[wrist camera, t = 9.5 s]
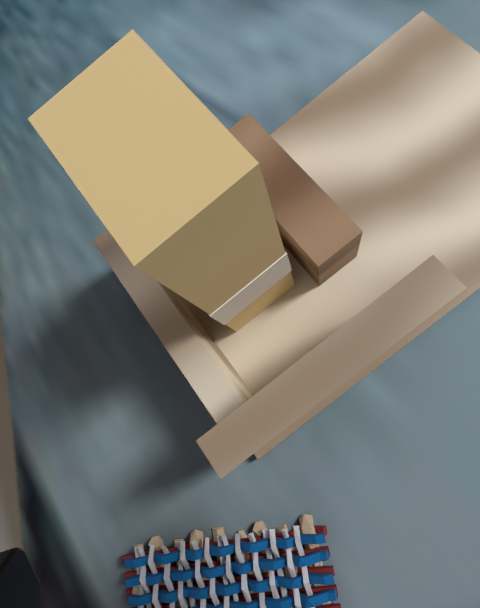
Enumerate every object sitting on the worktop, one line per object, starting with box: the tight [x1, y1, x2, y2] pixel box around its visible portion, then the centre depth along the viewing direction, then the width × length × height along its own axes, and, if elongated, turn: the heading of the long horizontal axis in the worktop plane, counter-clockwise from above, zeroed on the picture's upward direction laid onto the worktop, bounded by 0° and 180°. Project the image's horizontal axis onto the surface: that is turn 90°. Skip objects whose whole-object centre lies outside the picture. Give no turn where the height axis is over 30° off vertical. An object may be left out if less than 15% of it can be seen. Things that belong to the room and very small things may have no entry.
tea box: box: [28, 29, 295, 331], centre depth 16 cm, size 6×4×12 cm
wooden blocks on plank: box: [93, 11, 480, 479], centre depth 18 cm, size 14×23×8 cm, turn 127°
